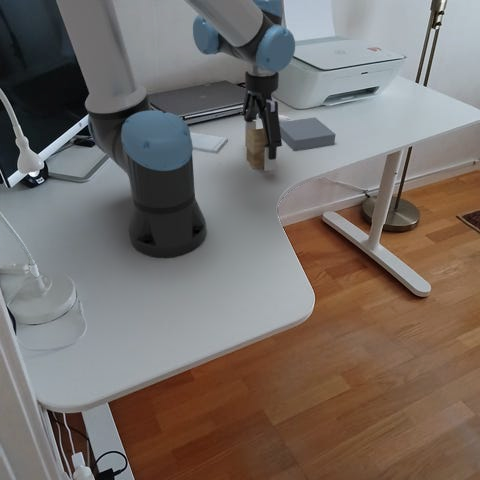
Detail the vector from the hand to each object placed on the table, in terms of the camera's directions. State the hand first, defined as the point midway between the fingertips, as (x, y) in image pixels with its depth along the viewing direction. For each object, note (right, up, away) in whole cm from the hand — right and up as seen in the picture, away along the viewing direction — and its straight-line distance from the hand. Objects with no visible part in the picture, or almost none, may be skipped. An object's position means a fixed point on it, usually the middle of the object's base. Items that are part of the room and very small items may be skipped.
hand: (259, 157), depth 113 cm
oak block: (0, -1, +1) cm, 2 cm away
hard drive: (-16, +5, +10) cm, 19 cm away
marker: (+3, +16, +24) cm, 29 cm away
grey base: (+13, +7, +12) cm, 19 cm away
